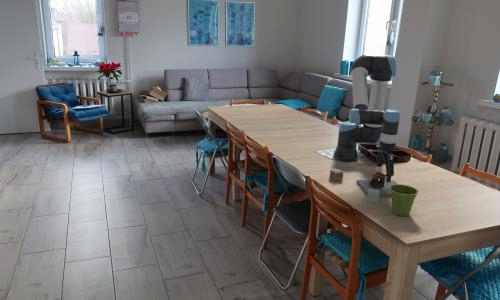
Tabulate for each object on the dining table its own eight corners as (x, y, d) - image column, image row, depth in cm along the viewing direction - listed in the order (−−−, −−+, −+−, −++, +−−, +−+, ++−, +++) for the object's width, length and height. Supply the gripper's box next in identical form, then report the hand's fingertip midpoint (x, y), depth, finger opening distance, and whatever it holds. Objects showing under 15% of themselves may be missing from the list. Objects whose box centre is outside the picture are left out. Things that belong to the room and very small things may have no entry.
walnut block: (329, 178, 217) (330, 169, 215) (337, 177, 218) (338, 168, 217) (334, 181, 212) (335, 172, 211) (342, 180, 214) (343, 172, 212)
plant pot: (385, 205, 185) (389, 182, 182) (413, 209, 182) (417, 186, 179) (386, 216, 174) (390, 192, 171) (415, 220, 171) (419, 196, 168)
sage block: (367, 197, 193) (368, 188, 192) (378, 199, 192) (379, 189, 190) (367, 201, 188) (368, 192, 187) (378, 203, 187) (379, 193, 186)
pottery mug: (364, 183, 208) (371, 169, 208) (379, 192, 209) (387, 177, 209) (374, 186, 196) (381, 171, 196) (390, 195, 197) (398, 180, 197)
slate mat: (356, 182, 212) (356, 179, 212) (393, 183, 213) (394, 180, 212) (367, 196, 195) (367, 193, 194) (407, 197, 196) (408, 194, 195)
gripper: (372, 135, 208) (367, 174, 214) (389, 148, 185) (383, 192, 191) (386, 135, 208) (381, 174, 214) (405, 148, 185) (398, 192, 191)
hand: (382, 183), depth 203 cm, fingers closed on pottery mug, 12 cm apart
